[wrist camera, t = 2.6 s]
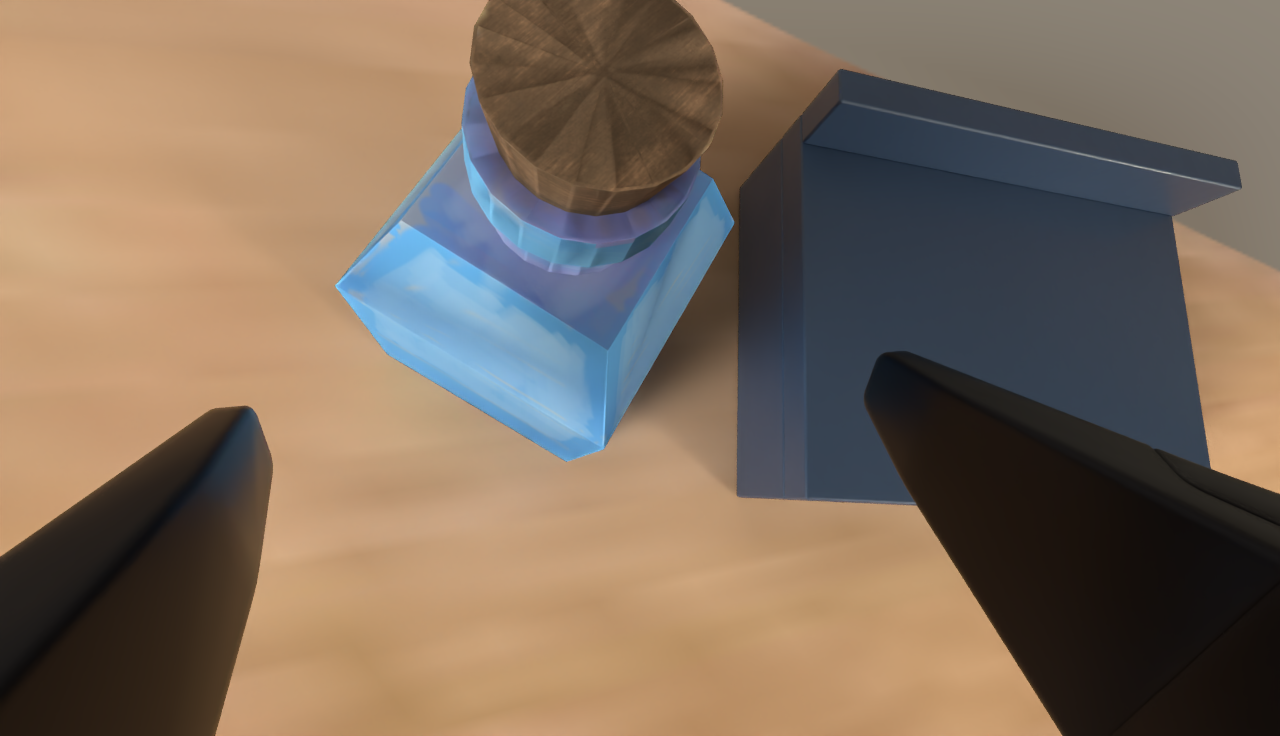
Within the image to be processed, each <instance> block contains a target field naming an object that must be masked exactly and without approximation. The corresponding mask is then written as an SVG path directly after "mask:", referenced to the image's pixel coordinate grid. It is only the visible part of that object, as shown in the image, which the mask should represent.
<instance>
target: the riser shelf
mask: <svg viewBox="0 0 1280 736" xmlns="http://www.w3.org/2000/svg"><path fill="white" fill-rule="evenodd" d="M1241 188H1242V185H1241V179H1240V174H1239V168H1238V163H1237V162H1236V161H1234V160H1230V159H1226V158H1221V157H1217V156H1213V155H1209V154H1204V153H1200V152H1195V151H1191V150H1187V149H1183V148H1178V147H1174V146H1170V145H1166V144H1161V143H1157V142H1152V141H1148V140H1144V139H1140V138H1136V137H1131V136H1127V135H1123V134H1118V133H1114V132H1110V131H1105V130H1101V129H1097V128H1093V127H1088V126H1084V125H1080V124H1075V123H1071V122H1067V121H1063V120H1058V119H1054V118H1050V117H1045V116H1041V115H1037V114H1032V113H1028V112H1024V111H1020V110H1015V109H1011V108H1006V107H1002V106H998V105H993V104H990V103H985V102H981V101H977V100H972V99H968V98H964V97H959V96H955V95H951V94H947V93H942V92H938V91H934V90H929V89H925V88H920V87H916V86H912V85H908V84H903V83H899V82H895V81H891V80H886V79H882V78H878V77H874V76H869V75H865V74H861V73H856V72H852V71H848V70H843V69H840V70H838V71H837V73H836V74H835V75H834V76H833V77H832V79H831V80H830V81H829V82H828V83H827V85H826V86H825V87H824V88H823V89H822V91H821V92H820V93H819V94H818V95H817V97H816V98H815V99H814V100H813V101H812V103H811V104H810V105H809V106H808V107H807V108H806V110H805V111H804V112H803V114H802V115H801V116H800V117H799V118H798V119H797V120H796V121H795V123H794V124H793V125H792V126H791V127H790V129H789V130H788V131H787V132H786V133H785V135H784V136H783V138H782V139H780V141H779V142H778V143H777V144H776V145H775V147H774V148H773V149H772V150H771V151H770V153H769V154H768V155H767V156H766V157H765V159H764V160H763V161H762V162H761V163H760V165H759V166H758V167H757V168H756V169H755V171H754V172H753V173H752V174H751V175H750V177H749V178H748V179H747V180H746V181H745V182H744V184H743V185H742V186H741V187H740V223H739V323H738V424H737V496H738V497H743V498H765V499H787V500H808V501H830V502H852V503H873V504H895V505H916V503H915V501H914V500H913V498H912V497H911V495H910V493H909V492H908V490H907V488H906V487H905V485H904V483H903V481H902V479H901V478H900V476H899V474H898V472H897V470H896V468H895V466H894V464H893V462H892V460H891V458H890V456H889V454H888V452H887V450H886V448H885V446H884V444H883V442H882V440H881V438H880V436H879V434H878V432H877V430H876V428H875V426H874V424H873V422H872V420H871V418H870V416H869V414H868V412H867V410H866V408H865V405H864V392H865V389H866V386H867V384H868V381H869V378H870V376H871V373H872V370H873V367H874V365H875V362H876V360H877V358H878V357H879V356H880V355H881V354H883V353H885V352H894V351H908V352H911V353H913V354H916V355H919V356H921V357H924V358H926V359H929V360H931V361H934V362H937V363H939V364H942V365H944V366H947V367H949V368H952V369H955V370H957V371H960V372H962V373H965V374H967V375H970V376H972V377H975V378H978V379H980V380H983V381H985V382H988V383H990V384H993V385H996V386H998V387H1001V388H1003V389H1006V390H1008V391H1011V392H1014V393H1016V394H1019V395H1021V396H1024V397H1026V398H1029V399H1032V400H1034V401H1037V402H1039V403H1042V404H1044V405H1047V406H1050V407H1052V408H1055V409H1057V410H1060V411H1062V412H1065V413H1067V414H1070V415H1073V416H1075V417H1078V418H1080V419H1083V420H1085V421H1088V422H1091V423H1093V424H1096V425H1098V426H1101V427H1103V428H1106V429H1109V430H1111V431H1114V432H1116V433H1119V434H1121V435H1124V436H1127V437H1129V438H1132V439H1134V440H1137V441H1139V442H1142V443H1145V444H1147V445H1149V446H1151V447H1152V448H1153V449H1155V448H1157V449H1160V450H1163V451H1165V452H1168V453H1170V454H1173V455H1176V456H1178V457H1181V458H1183V459H1186V460H1189V461H1191V462H1194V463H1196V464H1199V465H1202V466H1204V467H1207V468H1210V469H1211V467H1210V461H1209V454H1208V448H1207V441H1206V435H1205V428H1204V422H1203V415H1202V409H1201V403H1200V396H1199V390H1198V383H1197V377H1196V370H1195V364H1194V357H1193V351H1192V344H1191V338H1190V331H1189V325H1188V319H1187V312H1186V306H1185V299H1184V293H1183V286H1182V280H1181V273H1180V267H1179V260H1178V254H1177V247H1176V241H1175V234H1174V228H1173V222H1172V216H1175V215H1177V214H1180V213H1182V212H1185V211H1187V210H1190V209H1193V208H1195V207H1197V206H1200V205H1203V204H1205V203H1208V202H1210V201H1213V200H1215V199H1218V198H1220V197H1223V196H1225V195H1228V194H1230V193H1233V192H1235V191H1238V190H1240V189H1241Z"/></svg>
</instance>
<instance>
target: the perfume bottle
mask: <svg viewBox="0 0 1280 736" xmlns="http://www.w3.org/2000/svg"><path fill="white" fill-rule="evenodd" d="M470 66H471V70H472V74H473V76H472V78H471V80H470V82H469V84H468V86H467V87H466V92H465V100H464V108H463V116H462V129H461V130H460V131H459V132H458V134H457V135H456V136H455V137H454V139H453V140H452V141H451V142H450V144H449V145H448V146H447V147H446V149H445V150H444V151H443V152H442V154H441V155H440V156H439V157H438V159H437V160H436V161H435V162H434V164H433V165H432V166H431V167H430V168H429V170H428V171H427V172H426V173H425V175H424V176H423V177H422V178H421V180H420V181H419V182H418V183H417V185H416V186H415V187H414V188H413V190H412V191H411V192H410V193H409V195H408V196H407V197H406V198H405V200H404V201H403V202H402V203H401V205H400V206H399V207H398V208H397V210H396V211H395V212H394V213H393V214H392V216H391V217H390V218H389V219H388V221H387V222H386V223H385V224H384V226H383V227H382V228H381V229H380V231H379V232H378V233H377V234H376V236H375V237H374V238H373V239H372V241H371V242H370V243H369V244H368V246H367V247H366V248H365V249H364V251H363V252H362V253H361V254H360V255H359V257H358V258H357V259H356V260H355V262H354V263H353V264H352V265H351V267H350V268H349V269H348V270H347V272H346V273H345V274H344V275H343V277H342V278H341V279H340V280H339V282H338V283H337V284H336V285H335V286H336V288H337V289H338V290H339V292H340V293H341V294H342V296H343V297H344V298H345V300H346V301H347V302H348V304H349V305H350V306H351V307H352V309H353V310H354V311H355V313H356V314H357V315H358V317H359V318H360V319H361V321H362V322H363V323H364V325H365V326H366V327H367V328H368V330H369V331H370V332H371V334H372V335H373V336H374V338H375V339H376V340H377V342H378V343H379V344H380V345H381V347H382V348H383V349H384V351H385V352H386V353H387V354H388V355H390V356H391V357H393V358H395V359H396V360H398V361H400V362H401V363H403V364H405V365H406V366H408V367H410V368H411V369H413V370H415V371H416V372H418V373H420V374H421V375H423V376H425V377H426V378H428V379H430V380H431V381H433V382H435V383H436V384H438V385H440V386H441V387H443V388H445V389H446V390H448V391H450V392H451V393H453V394H455V395H456V396H458V397H460V398H461V399H463V400H465V401H466V402H468V403H470V404H471V405H473V406H475V407H476V408H478V409H480V410H481V411H483V412H485V413H486V414H488V415H490V416H491V417H493V418H495V419H496V420H498V421H500V422H501V423H503V424H505V425H506V426H508V427H510V428H511V429H513V430H515V431H516V432H518V433H520V434H521V435H523V436H525V437H526V438H528V439H530V440H531V441H533V442H535V443H536V444H538V445H540V446H541V447H543V448H545V449H546V450H548V451H550V452H551V453H553V454H555V455H556V456H558V457H560V458H561V459H563V460H564V461H566V462H567V461H570V460H573V459H576V458H579V457H582V456H585V455H588V454H591V453H594V452H597V451H600V450H603V449H604V448H605V446H606V444H607V443H608V441H609V439H610V438H611V436H612V434H613V432H614V431H615V429H616V427H617V425H618V424H619V422H620V420H621V419H622V417H623V415H624V413H625V412H626V410H627V408H628V406H629V405H630V403H631V401H632V400H633V398H634V396H635V394H636V393H637V391H638V389H639V387H640V386H641V384H642V382H643V381H644V379H645V377H646V375H647V374H648V372H649V370H650V368H651V367H652V365H653V363H654V362H655V360H656V358H657V356H658V355H659V353H660V351H661V349H662V348H663V346H664V344H665V343H666V341H667V339H668V337H669V336H670V334H671V332H672V330H673V329H674V327H675V325H676V324H677V322H678V320H679V318H680V317H681V315H682V313H683V311H684V310H685V308H686V306H687V305H688V303H689V301H690V299H691V298H692V296H693V294H694V292H695V291H696V289H697V287H698V286H699V284H700V282H701V280H702V279H703V277H704V275H705V273H706V272H707V270H708V268H709V267H710V265H711V263H712V261H713V260H714V258H715V256H716V254H717V253H718V251H719V249H720V248H721V246H722V244H723V242H724V241H725V239H726V237H727V235H728V234H729V232H730V230H731V228H732V227H733V225H734V223H735V222H734V220H733V218H732V216H731V214H730V212H729V210H728V208H727V206H726V204H725V202H724V200H723V198H722V196H721V194H720V192H719V190H718V188H717V186H716V184H715V182H714V180H713V178H711V177H710V176H708V175H707V174H705V173H704V172H702V171H701V170H699V169H700V158H701V155H702V154H703V153H704V152H705V151H706V150H707V149H708V147H709V146H710V145H711V142H712V140H713V137H714V134H715V132H716V129H717V127H718V124H719V122H720V119H721V117H722V100H723V80H722V76H721V73H720V70H719V67H718V63H717V60H716V57H715V53H714V50H713V47H712V45H711V44H710V42H709V41H708V39H707V38H706V36H705V35H704V33H703V31H702V30H701V28H700V27H699V25H698V24H697V22H696V21H695V19H694V18H693V16H692V15H691V14H690V13H689V12H688V11H687V10H685V9H684V8H683V7H682V6H681V5H680V4H679V3H678V2H677V1H676V0H489V1H488V3H487V5H486V6H485V8H484V10H483V12H482V13H481V15H480V17H479V19H478V20H477V22H476V24H475V26H474V32H473V40H472V48H471V56H470Z"/></svg>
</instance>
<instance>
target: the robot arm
mask: <svg viewBox="0 0 1280 736" xmlns="http://www.w3.org/2000/svg"><path fill="white" fill-rule="evenodd" d="M864 405H865V408H866V410H867V412H868V414H869V416H870V418H871V420H872V422H873V424H874V426H875V428H876V430H877V432H878V434H879V436H880V438H881V440H882V442H883V444H884V446H885V448H886V450H887V452H888V454H889V456H890V458H891V460H892V462H893V464H894V466H895V468H896V470H897V472H898V474H899V476H900V478H901V479H902V481H903V483H904V485H905V487H906V488H907V490H908V492H909V493H910V495H911V497H912V498H913V500H914V501H915V503H916V505H917V506H918V508H919V509H920V511H921V512H922V514H923V516H924V517H925V519H926V520H927V522H928V524H929V525H930V527H931V528H932V530H933V531H934V533H935V535H936V536H937V538H938V539H939V541H940V543H941V544H942V546H943V547H944V549H945V550H946V552H947V554H948V555H949V557H950V558H951V560H952V562H953V563H954V565H955V566H956V568H957V569H958V571H959V573H960V574H961V576H962V577H963V579H964V580H965V582H966V584H967V585H968V587H969V588H970V590H971V592H972V593H973V595H974V596H975V598H976V599H977V601H978V603H979V604H980V606H981V607H982V609H983V611H984V612H985V614H986V615H987V617H988V618H989V620H990V622H991V623H992V625H993V626H994V628H995V630H996V631H997V633H998V634H999V636H1000V637H1001V639H1002V641H1003V642H1004V644H1005V645H1006V647H1007V649H1008V650H1009V652H1010V653H1011V655H1012V656H1013V658H1014V660H1015V661H1016V663H1017V664H1018V666H1019V668H1020V669H1021V671H1022V672H1023V674H1024V675H1025V677H1026V679H1027V680H1028V682H1029V683H1030V685H1031V686H1032V688H1033V690H1034V691H1035V693H1036V694H1037V696H1038V698H1039V699H1040V701H1041V702H1042V704H1043V705H1044V707H1045V709H1046V710H1047V712H1048V713H1049V715H1050V717H1051V718H1052V720H1053V721H1054V723H1055V724H1056V726H1057V728H1058V729H1059V731H1060V732H1061V734H1062V736H1280V494H1278V493H1275V492H1272V491H1270V490H1267V489H1264V488H1261V487H1259V486H1256V485H1253V484H1250V483H1247V482H1245V481H1242V480H1239V479H1236V478H1233V477H1231V476H1228V475H1226V474H1223V473H1220V472H1218V471H1215V470H1212V469H1210V468H1207V467H1204V466H1202V465H1199V464H1196V463H1194V462H1191V461H1189V460H1186V459H1183V458H1181V457H1178V456H1176V455H1173V454H1170V453H1168V452H1165V451H1163V450H1160V449H1157V448H1155V449H1153V448H1152V447H1151V446H1149V445H1147V444H1145V443H1142V442H1139V441H1137V440H1134V439H1132V438H1129V437H1127V436H1124V435H1121V434H1119V433H1116V432H1114V431H1111V430H1109V429H1106V428H1103V427H1101V426H1098V425H1096V424H1093V423H1091V422H1088V421H1085V420H1083V419H1080V418H1078V417H1075V416H1073V415H1070V414H1067V413H1065V412H1062V411H1060V410H1057V409H1055V408H1052V407H1050V406H1047V405H1044V404H1042V403H1039V402H1037V401H1034V400H1032V399H1029V398H1026V397H1024V396H1021V395H1019V394H1016V393H1014V392H1011V391H1008V390H1006V389H1003V388H1001V387H998V386H996V385H993V384H990V383H988V382H985V381H983V380H980V379H978V378H975V377H972V376H970V375H967V374H965V373H962V372H960V371H957V370H955V369H952V368H949V367H947V366H944V365H942V364H939V363H937V362H934V361H931V360H929V359H926V358H924V357H921V356H919V355H916V354H913V353H911V352H908V351H894V352H885V353H883V354H881V355H880V356H879V357H878V358H877V360H876V362H875V365H874V367H873V370H872V373H871V376H870V378H869V381H868V384H867V386H866V389H865V392H864ZM272 474H273V463H272V457H271V453H270V450H269V448H268V445H267V442H266V439H265V436H264V434H263V431H262V428H261V425H260V422H259V419H258V417H257V414H256V413H255V411H254V410H253V409H252V408H250V407H248V406H237V407H225V408H215V409H212V410H210V411H208V412H206V413H205V414H204V415H202V416H201V417H199V418H198V419H196V420H195V421H194V422H192V423H191V424H189V425H188V426H186V427H185V428H184V429H182V430H181V431H179V432H178V433H176V434H175V435H174V436H172V437H171V438H169V439H168V440H166V441H165V442H164V443H162V444H161V445H159V446H158V447H156V448H155V449H154V450H152V451H151V452H149V453H148V454H146V455H145V456H144V457H142V458H141V459H139V460H138V461H136V462H135V463H134V464H132V465H131V466H129V467H128V468H126V469H125V470H124V471H122V472H121V473H119V474H118V475H116V476H115V477H114V478H112V479H111V480H109V481H108V482H106V483H105V484H104V485H102V486H101V487H99V488H98V489H96V490H95V491H94V492H92V493H91V494H89V495H88V496H86V497H85V498H84V499H82V500H81V501H79V502H78V503H77V504H75V505H74V506H72V507H71V508H69V509H68V510H67V511H65V512H64V513H62V514H61V515H59V516H58V517H57V518H55V519H54V520H52V521H51V522H49V523H48V524H47V525H45V526H44V527H42V528H41V529H39V530H38V531H37V532H35V533H34V534H32V535H31V536H29V537H28V538H27V539H25V540H24V541H22V542H21V543H19V544H18V545H17V546H15V547H14V548H12V549H11V550H9V551H8V552H7V553H5V554H4V555H2V556H1V557H0V736H215V734H216V730H217V727H218V723H219V719H220V716H221V712H222V709H223V705H224V701H225V698H226V694H227V690H228V687H229V683H230V680H231V676H232V672H233V669H234V665H235V662H236V658H237V654H238V651H239V647H240V644H241V640H242V636H243V633H244V629H245V626H246V622H247V618H248V615H249V611H250V608H251V604H252V600H253V596H254V592H255V588H256V584H257V578H258V573H259V567H260V560H261V553H262V546H263V539H264V531H265V524H266V517H267V510H268V503H269V496H270V489H271V481H272Z"/></svg>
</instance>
